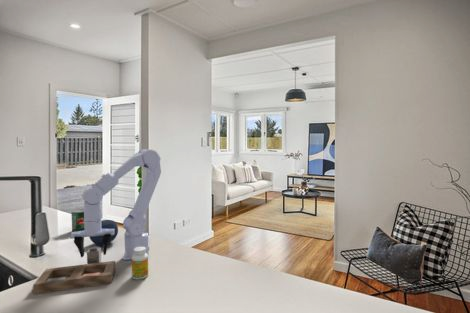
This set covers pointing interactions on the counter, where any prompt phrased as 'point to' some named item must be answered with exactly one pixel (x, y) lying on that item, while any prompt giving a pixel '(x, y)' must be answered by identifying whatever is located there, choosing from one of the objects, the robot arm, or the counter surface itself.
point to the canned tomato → (77, 220)
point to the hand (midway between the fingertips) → (93, 255)
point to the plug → (94, 255)
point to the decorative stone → (105, 225)
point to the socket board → (74, 277)
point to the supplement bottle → (139, 263)
